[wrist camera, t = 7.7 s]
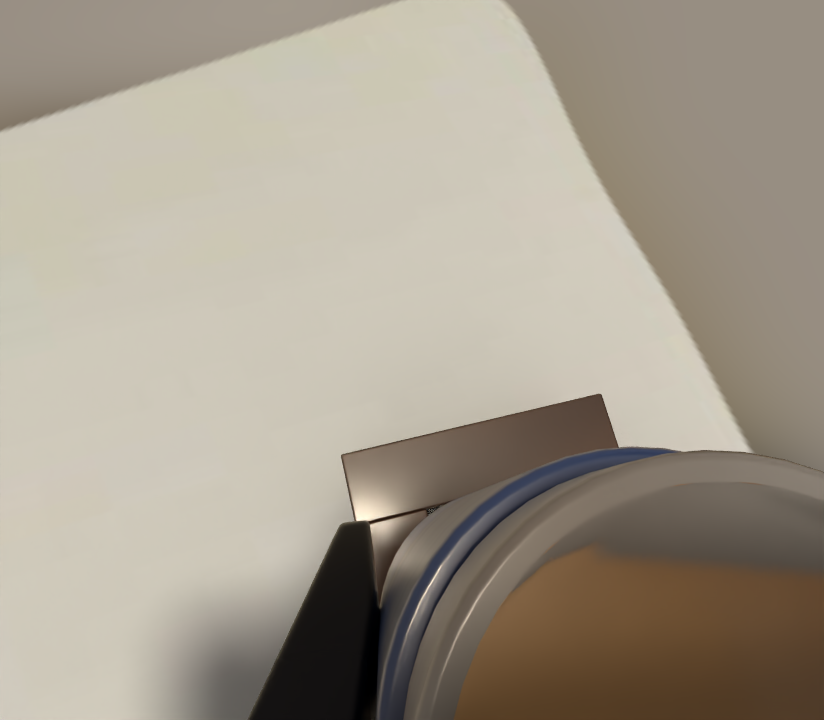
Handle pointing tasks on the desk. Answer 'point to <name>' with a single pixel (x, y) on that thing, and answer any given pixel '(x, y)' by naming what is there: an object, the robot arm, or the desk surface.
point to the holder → (462, 466)
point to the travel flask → (613, 594)
